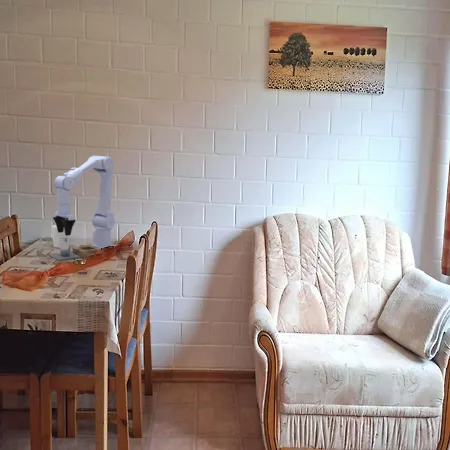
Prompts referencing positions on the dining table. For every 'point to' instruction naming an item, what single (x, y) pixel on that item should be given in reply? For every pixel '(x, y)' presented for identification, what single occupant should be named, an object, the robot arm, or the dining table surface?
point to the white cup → (57, 236)
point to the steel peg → (65, 246)
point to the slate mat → (59, 257)
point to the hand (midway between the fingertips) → (64, 233)
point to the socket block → (85, 250)
